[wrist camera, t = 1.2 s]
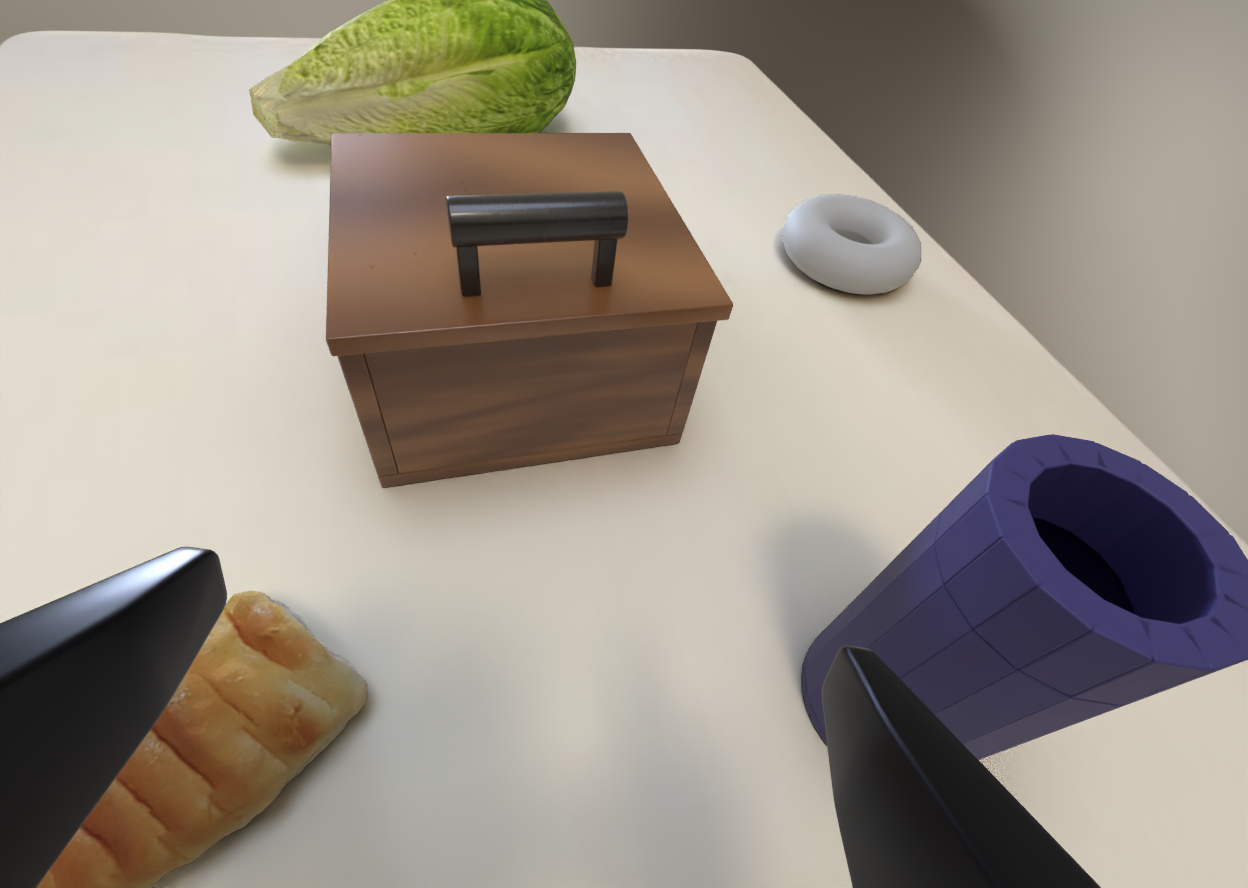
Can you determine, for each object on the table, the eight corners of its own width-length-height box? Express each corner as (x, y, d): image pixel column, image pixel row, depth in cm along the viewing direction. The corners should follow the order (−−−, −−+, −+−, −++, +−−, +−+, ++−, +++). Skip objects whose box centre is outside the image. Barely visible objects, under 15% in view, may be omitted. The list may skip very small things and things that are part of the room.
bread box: (679, 444, 31) (721, 308, 24) (381, 488, 27) (332, 342, 21) (611, 283, 39) (628, 148, 32) (373, 301, 35) (335, 151, 29)
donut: (775, 217, 48) (776, 288, 41) (789, 175, 45) (793, 243, 39) (897, 241, 48) (918, 316, 41) (918, 200, 45) (945, 273, 39)
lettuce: (209, 43, 43) (193, -43, 33) (507, -2, 53) (569, -79, 42) (291, 213, 48) (301, 186, 37) (552, 143, 57) (618, 106, 47)
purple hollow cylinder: (984, 758, 23) (1330, 630, 13) (847, 806, 21) (1124, 701, 11) (898, 610, 27) (1118, 421, 17) (775, 641, 25) (938, 453, 15)
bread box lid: (729, 320, 24) (761, 220, 21) (331, 357, 20) (291, 241, 17) (628, 147, 32) (640, 56, 29) (335, 150, 29) (309, 45, 25)
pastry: (132, 981, 17) (45, 992, 14) (-3, 824, 18) (-106, 804, 15) (390, 692, 22) (367, 655, 19) (266, 593, 24) (229, 545, 21)
